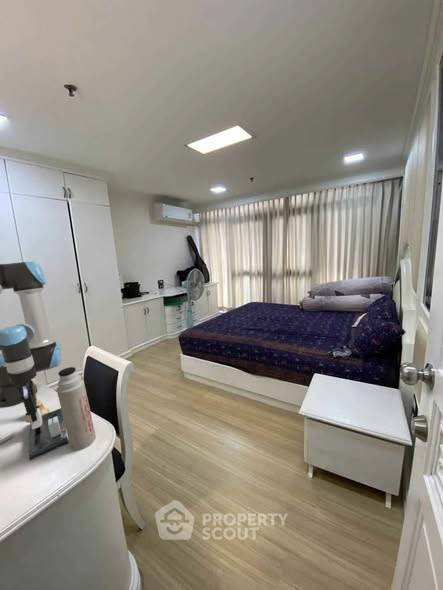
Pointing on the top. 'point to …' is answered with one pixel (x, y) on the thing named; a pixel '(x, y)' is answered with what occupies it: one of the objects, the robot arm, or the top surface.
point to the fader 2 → (54, 427)
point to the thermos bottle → (75, 409)
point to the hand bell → (41, 407)
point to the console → (46, 436)
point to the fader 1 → (40, 416)
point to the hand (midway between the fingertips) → (36, 426)
